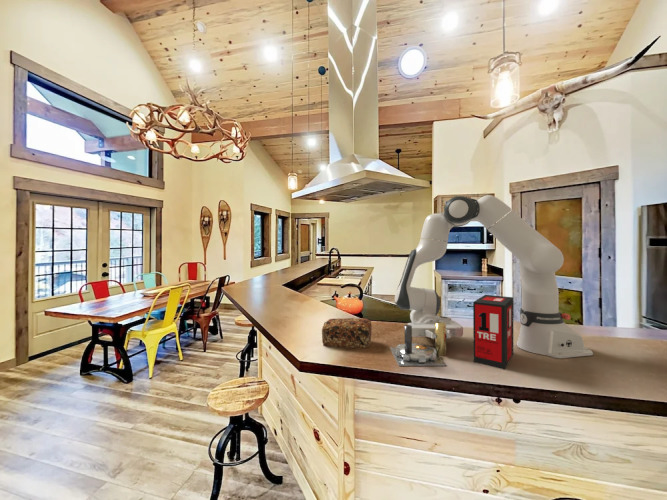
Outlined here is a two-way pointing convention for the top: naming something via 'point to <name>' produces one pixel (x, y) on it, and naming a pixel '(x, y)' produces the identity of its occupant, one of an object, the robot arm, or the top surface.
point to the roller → (440, 338)
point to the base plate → (403, 362)
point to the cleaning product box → (493, 330)
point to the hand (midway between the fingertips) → (441, 336)
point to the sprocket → (414, 349)
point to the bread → (347, 333)
